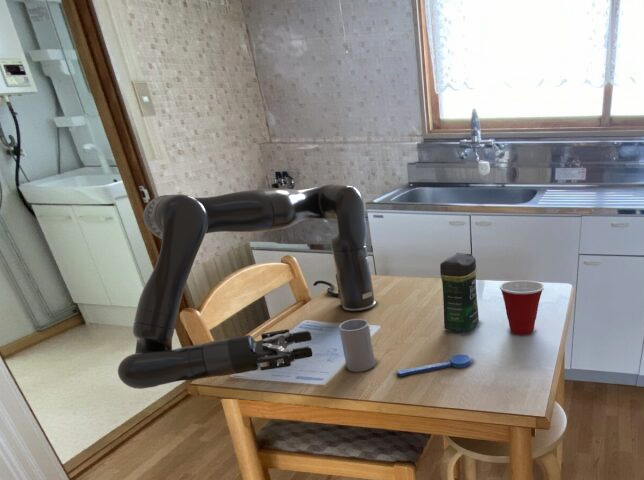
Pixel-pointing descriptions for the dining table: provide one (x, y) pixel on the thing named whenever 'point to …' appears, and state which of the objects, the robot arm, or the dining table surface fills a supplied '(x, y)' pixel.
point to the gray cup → (357, 344)
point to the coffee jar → (459, 293)
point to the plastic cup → (521, 304)
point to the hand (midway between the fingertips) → (311, 343)
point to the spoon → (439, 365)
